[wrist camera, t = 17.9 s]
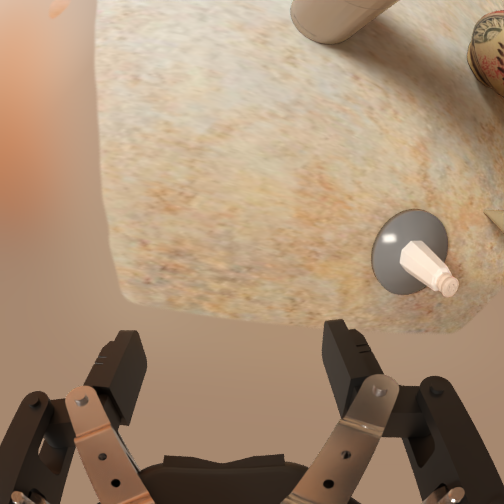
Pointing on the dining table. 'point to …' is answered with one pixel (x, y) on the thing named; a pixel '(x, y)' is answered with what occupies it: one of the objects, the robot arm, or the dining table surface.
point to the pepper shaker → (428, 268)
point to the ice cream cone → (496, 217)
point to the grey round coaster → (396, 238)
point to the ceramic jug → (488, 51)
